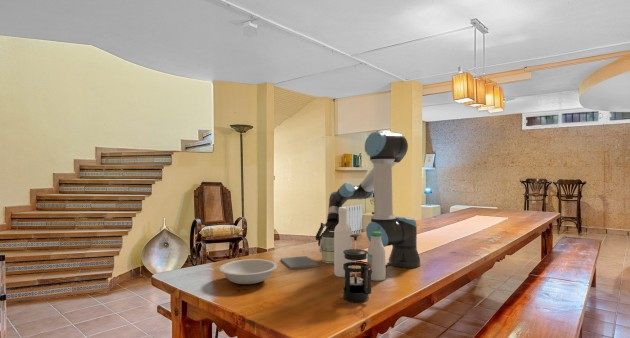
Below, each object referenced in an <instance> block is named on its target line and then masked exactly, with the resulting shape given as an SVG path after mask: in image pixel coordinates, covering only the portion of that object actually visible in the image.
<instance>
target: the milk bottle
mask: <svg viewBox="0 0 630 338" xmlns="http://www.w3.org/2000/svg"><path fill="white" fill-rule="evenodd" d="M381 236H382V233H381V232H379V231H372V232H371V242H369V244H368V247H367V250H366V251H367V252H368V254H367V258H366V260H367V261H366V264H367V265H368V268H370V269H371V281H375V282H377V281H378V282H379V281H380V282H381V281H384V280H385V279H386V271H387V270H386V249H385V247H384V246H383V244H382V241H381ZM367 278H368V271H367Z"/></svg>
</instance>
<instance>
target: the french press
mask: <svg viewBox="0 0 630 338" xmlns="http://www.w3.org/2000/svg"><path fill="white" fill-rule="evenodd" d="M350 237H352V238H353V240H354V248H352V249H348V250H344V251H343V253H344V257H345V259H348V260H352V262H348V263H345V264H343V269H344V270H345V277H344V279H343V281H344V287H343V289H342V290H343V291H342V292H343V293H342V299H343V300H344V301H346V302H348V303H352V304H353V303H355V304H356V303H357V304H360V303H365V302H368V301H369V299H370V298H369V295H370V294H372V280H371V269H370V268H368V265H367V263H366V262H359V261H364V260H367V254H368V252H367V251H368V250H365V249H360V248H359V249H358V248H357V241H358V240H357V238H361V237H362V235H360V234H354V233H353V234H352V235H350ZM348 266H352V268H348ZM353 266H355V267H354V268H353ZM357 266H359V267H360V268H359V267H358V268H357ZM367 271H368V277H367ZM350 272H352V273H354V276H350ZM357 273H360V277H359V276H357Z"/></svg>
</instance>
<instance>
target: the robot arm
mask: <svg viewBox="0 0 630 338" xmlns="http://www.w3.org/2000/svg"><path fill="white" fill-rule="evenodd" d="M408 150H409V144H408V141H407V138H406V137H405V136H404V135H403V134H401V133H398V132H389V131H373V132H371V133H370V134H368V136H367V137H366V139H365V142H364V152H365V153H366V155H367V156H369V161H370V162H371V163H372V164H373V165H372V169H371V170H370V171H369V173H368V174H367V175H366V177H364V179H363V180H362V181H361V182H360V184H359V185H354V184H352V183H350V182H345V183H343V184H342V185H340V186H339V188H338V189H337V190H336V191H334V192H332V191H331V193H330V194H329V199H328V201H329V202H328V209H327V218H326V222H325V223H323V222H320V226H319V228H318V231H317V232H316V234H315V240H316V241H317V244H318V245H317V246H318V250H319V251H318V252H319V253H321V254H322V233H324V232H334V230H335V227H336V225H337V224H338V223H339V211H338V210H339V207H343V205H344V204H345V203H346V202H347V201H349V200H367V199H370V198H372V196H373V207H374V208H373V209H374V210H373V211H374V213H373V215H372V216H371V217H370V218H371V219H370V221H371V222H369V223H368V224H367V226H366V228H365V230H366V231H365V232H366V238H367V239H368V241H370V242H371V232H372V231H379V232H381V233H382V236H381V241H382V244H383V246H384V248H385V247H388V246H392V249H391V251H390V254H389V258H388V264H389V265H390V266H392V267H397V268H402V269H404V268H405V269H409V268H410V269H411V268H412V269H413V268H418V267H420V266H421V259H420V255H419V252H418V249H417V248H418V247H417V246H418V245H417V240H418V239H417V235H418V234H417V233H418V231H417V228H418V226H417V220H416V219H415V218H410V217H403V216H395V215H394V213H393V210H394V209H393V172H392V171H393V170H392V169H393V167H394V166H395V165H396V164H399V163H401V161H402V160H403V159H404V158H405V157H406V154H408V153H407V152H408ZM325 227H326V228H325ZM324 228H325V229H324ZM370 242H369V243H370Z"/></svg>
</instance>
